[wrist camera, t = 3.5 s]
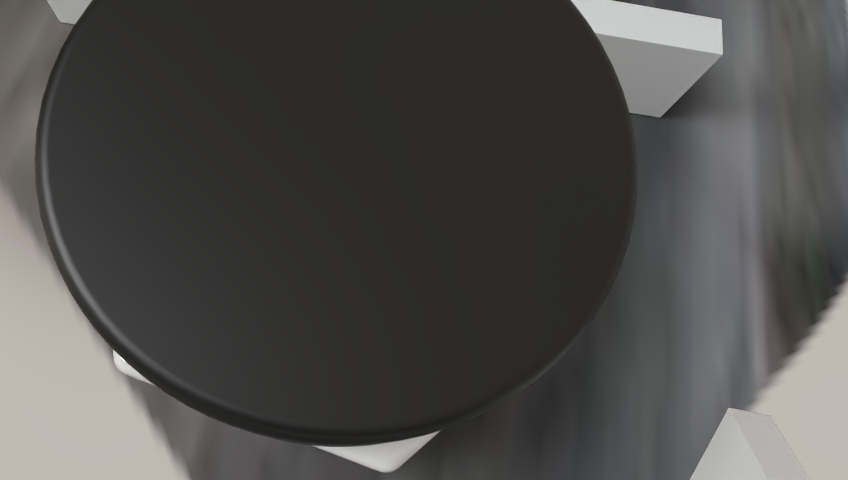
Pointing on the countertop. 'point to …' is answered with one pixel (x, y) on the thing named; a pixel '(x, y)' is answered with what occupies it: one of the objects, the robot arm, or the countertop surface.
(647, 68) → the acrylic wall
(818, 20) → the countertop surface
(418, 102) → the jar
